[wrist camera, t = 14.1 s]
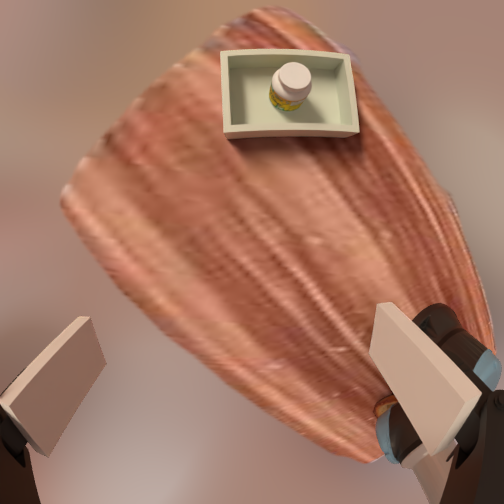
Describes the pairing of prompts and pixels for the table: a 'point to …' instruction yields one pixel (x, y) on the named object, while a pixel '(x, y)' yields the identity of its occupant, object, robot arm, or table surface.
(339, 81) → the bin
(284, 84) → the supplement bottle
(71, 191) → the table surface
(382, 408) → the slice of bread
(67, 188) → the table surface
